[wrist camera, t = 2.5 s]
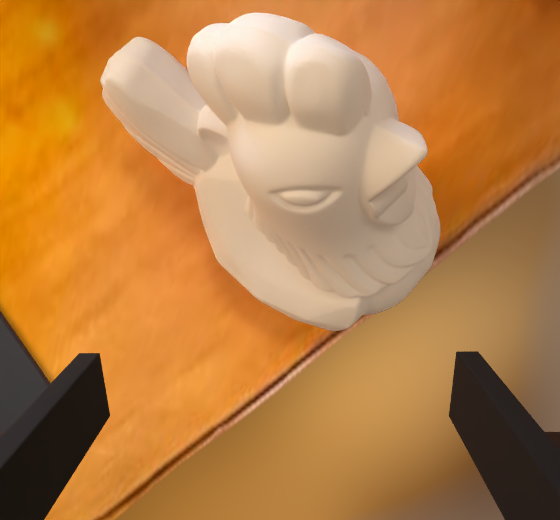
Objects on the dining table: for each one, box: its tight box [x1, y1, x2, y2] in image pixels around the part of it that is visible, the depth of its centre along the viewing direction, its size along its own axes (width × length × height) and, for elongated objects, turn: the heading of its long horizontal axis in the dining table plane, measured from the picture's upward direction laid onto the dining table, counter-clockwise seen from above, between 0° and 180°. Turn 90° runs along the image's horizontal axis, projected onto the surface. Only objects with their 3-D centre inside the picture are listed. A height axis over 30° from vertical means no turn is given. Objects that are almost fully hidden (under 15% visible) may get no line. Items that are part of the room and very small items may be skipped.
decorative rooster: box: [100, 13, 440, 331], centre depth 29 cm, size 25×16×25 cm
